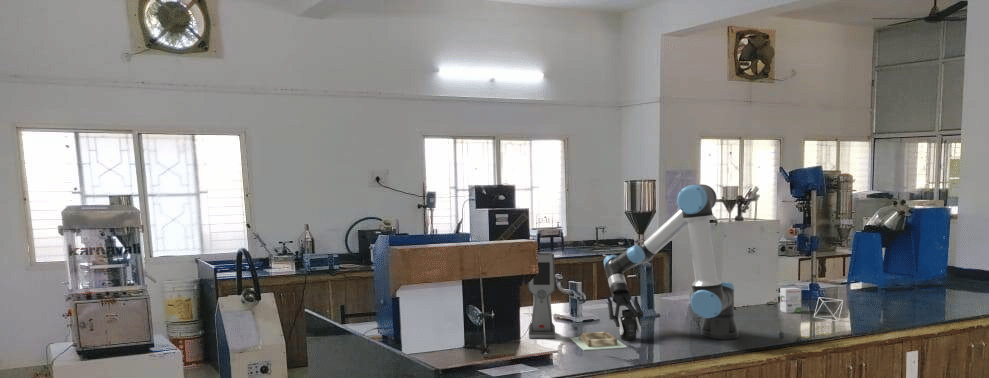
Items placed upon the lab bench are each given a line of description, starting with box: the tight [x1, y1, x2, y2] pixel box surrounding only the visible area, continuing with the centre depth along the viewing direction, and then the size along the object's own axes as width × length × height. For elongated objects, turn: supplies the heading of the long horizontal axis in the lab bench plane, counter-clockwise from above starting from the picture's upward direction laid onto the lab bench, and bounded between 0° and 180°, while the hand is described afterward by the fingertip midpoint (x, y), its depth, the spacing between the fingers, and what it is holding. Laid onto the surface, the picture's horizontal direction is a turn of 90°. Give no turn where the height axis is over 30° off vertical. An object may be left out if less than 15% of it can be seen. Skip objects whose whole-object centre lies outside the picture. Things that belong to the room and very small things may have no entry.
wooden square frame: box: [578, 331, 618, 347], centre depth 243 cm, size 12×12×2 cm
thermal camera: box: [527, 252, 556, 340], centre depth 257 cm, size 12×13×35 cm
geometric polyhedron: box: [813, 296, 844, 322], centre depth 282 cm, size 12×11×9 cm
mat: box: [569, 336, 628, 351], centre depth 243 cm, size 18×18×1 cm
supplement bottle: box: [619, 309, 638, 342], centre depth 249 cm, size 7×7×12 cm
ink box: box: [779, 287, 802, 314], centre depth 296 cm, size 8×5×12 cm, turn 99°
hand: (630, 332), depth 246 cm, fingers closed on supplement bottle, 7 cm apart
